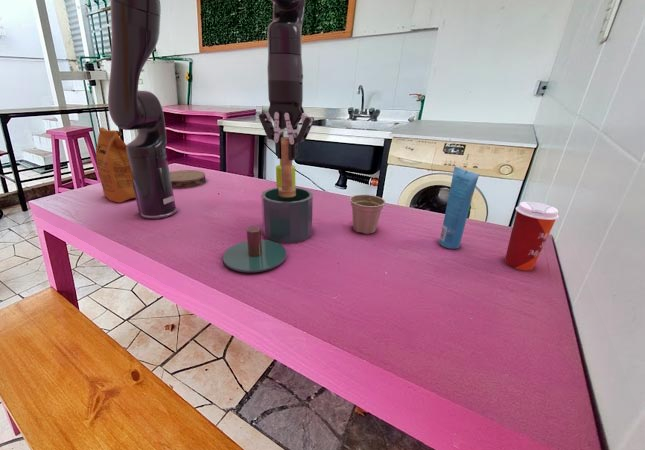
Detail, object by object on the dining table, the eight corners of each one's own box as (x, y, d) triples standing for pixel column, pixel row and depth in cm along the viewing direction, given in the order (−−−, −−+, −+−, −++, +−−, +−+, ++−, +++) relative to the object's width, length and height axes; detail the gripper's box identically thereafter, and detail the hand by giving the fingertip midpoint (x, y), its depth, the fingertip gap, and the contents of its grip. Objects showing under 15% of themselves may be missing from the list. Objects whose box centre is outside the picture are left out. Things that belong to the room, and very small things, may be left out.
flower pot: (388, 229, 83) (392, 200, 80) (368, 240, 77) (372, 209, 74) (361, 220, 89) (363, 192, 86) (340, 229, 83) (342, 199, 79)
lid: (209, 265, 64) (205, 235, 61) (248, 239, 76) (246, 213, 73) (264, 281, 59) (262, 250, 56) (297, 251, 71) (296, 223, 68)
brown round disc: (176, 176, 126) (175, 169, 125) (212, 178, 124) (211, 171, 123) (152, 187, 111) (151, 179, 110) (193, 189, 110) (192, 181, 109)
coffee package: (132, 189, 108) (117, 125, 99) (148, 197, 101) (133, 129, 92) (100, 196, 101) (80, 127, 92) (115, 205, 94) (95, 132, 85)
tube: (467, 249, 74) (487, 173, 66) (453, 253, 72) (472, 175, 64) (444, 237, 80) (460, 165, 72) (431, 240, 78) (445, 167, 71)
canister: (253, 236, 77) (251, 197, 73) (279, 219, 88) (278, 184, 83) (298, 247, 72) (298, 206, 68) (319, 227, 83) (320, 191, 79)
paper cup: (539, 277, 64) (562, 216, 58) (498, 266, 67) (516, 208, 62) (538, 261, 70) (559, 205, 64) (500, 252, 74) (517, 198, 68)
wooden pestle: (275, 195, 75) (273, 138, 69) (284, 191, 78) (282, 135, 73) (290, 198, 73) (290, 139, 67) (299, 193, 77) (299, 137, 71)
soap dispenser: (297, 203, 101) (297, 142, 93) (293, 210, 95) (293, 145, 86) (280, 201, 101) (278, 141, 93) (275, 209, 95) (273, 144, 87)
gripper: (248, 77, 64) (253, 158, 71) (306, 79, 59) (306, 165, 67) (267, 79, 71) (270, 153, 78) (321, 80, 66) (319, 159, 73)
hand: (286, 158), depth 72 cm, fingers closed on wooden pestle, 2 cm apart
